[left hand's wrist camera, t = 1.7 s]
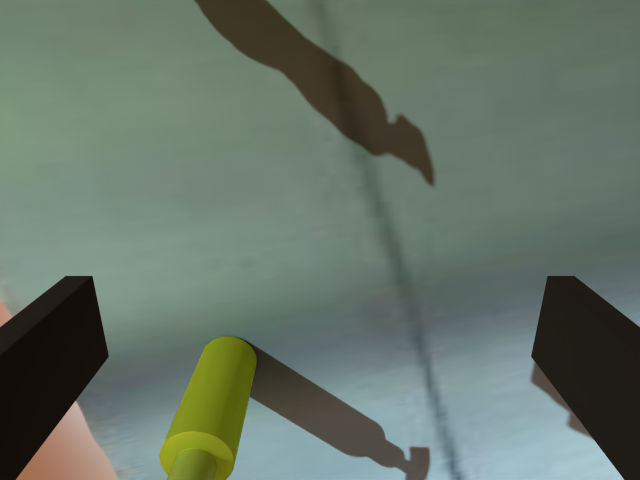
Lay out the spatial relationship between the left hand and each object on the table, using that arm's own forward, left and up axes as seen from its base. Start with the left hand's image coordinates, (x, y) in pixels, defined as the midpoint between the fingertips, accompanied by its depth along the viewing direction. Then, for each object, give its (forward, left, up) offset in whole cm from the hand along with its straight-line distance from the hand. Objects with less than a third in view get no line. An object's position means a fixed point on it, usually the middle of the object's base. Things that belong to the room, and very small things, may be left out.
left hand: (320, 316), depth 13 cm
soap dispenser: (-21, +10, -28) cm, 36 cm away
